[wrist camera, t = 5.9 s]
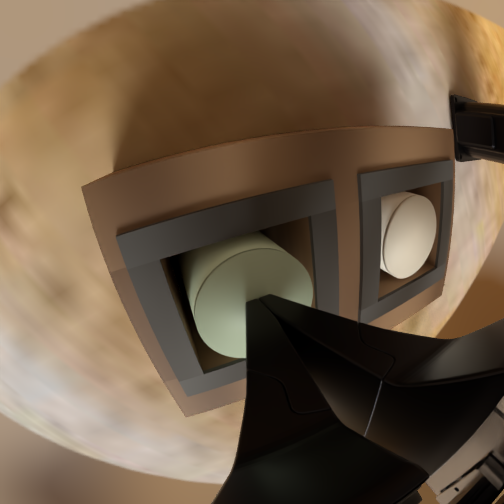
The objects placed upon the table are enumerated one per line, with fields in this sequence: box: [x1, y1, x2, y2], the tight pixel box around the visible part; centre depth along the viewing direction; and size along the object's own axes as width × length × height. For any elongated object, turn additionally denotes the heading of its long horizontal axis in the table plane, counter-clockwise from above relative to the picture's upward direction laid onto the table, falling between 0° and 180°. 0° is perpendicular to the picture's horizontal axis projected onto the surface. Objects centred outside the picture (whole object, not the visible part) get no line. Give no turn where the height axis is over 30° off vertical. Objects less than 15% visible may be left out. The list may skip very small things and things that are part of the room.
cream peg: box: [380, 191, 436, 278], centre depth 14 cm, size 4×4×6 cm
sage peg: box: [177, 230, 313, 358], centre depth 11 cm, size 4×4×6 cm
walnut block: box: [81, 126, 455, 417], centre depth 13 cm, size 16×10×6 cm, turn 101°
